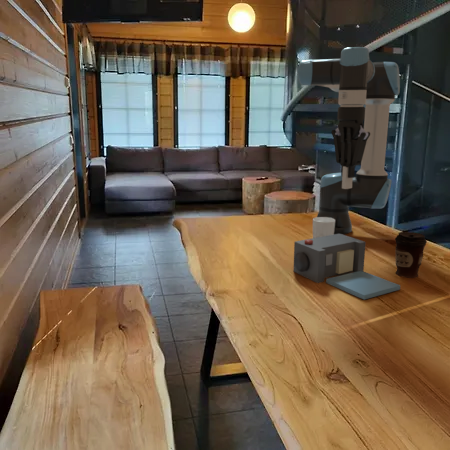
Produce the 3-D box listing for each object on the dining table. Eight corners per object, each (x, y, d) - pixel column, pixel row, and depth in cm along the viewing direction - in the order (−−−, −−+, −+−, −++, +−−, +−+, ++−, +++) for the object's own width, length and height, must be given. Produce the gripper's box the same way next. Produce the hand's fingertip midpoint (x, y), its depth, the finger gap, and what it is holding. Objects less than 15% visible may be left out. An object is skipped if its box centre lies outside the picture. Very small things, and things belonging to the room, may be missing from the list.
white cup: (309, 248, 165) (310, 221, 163) (313, 242, 172) (315, 216, 170) (331, 250, 162) (333, 223, 160) (335, 244, 169) (336, 218, 167)
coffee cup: (407, 283, 132) (411, 239, 129) (385, 274, 139) (389, 232, 136) (428, 278, 136) (433, 235, 133) (405, 269, 143) (409, 229, 140)
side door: (360, 270, 137) (400, 285, 125) (360, 276, 138) (399, 292, 126) (326, 278, 131) (364, 295, 119) (325, 285, 131) (363, 302, 119)
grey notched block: (337, 263, 149) (339, 231, 146) (363, 273, 140) (365, 239, 137) (289, 273, 140) (291, 239, 137) (313, 285, 130) (315, 249, 128)
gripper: (325, 106, 134) (322, 186, 140) (359, 106, 123) (354, 193, 129) (344, 105, 137) (340, 183, 144) (379, 105, 127) (372, 190, 133)
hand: (346, 188), depth 137 cm, fingers closed
